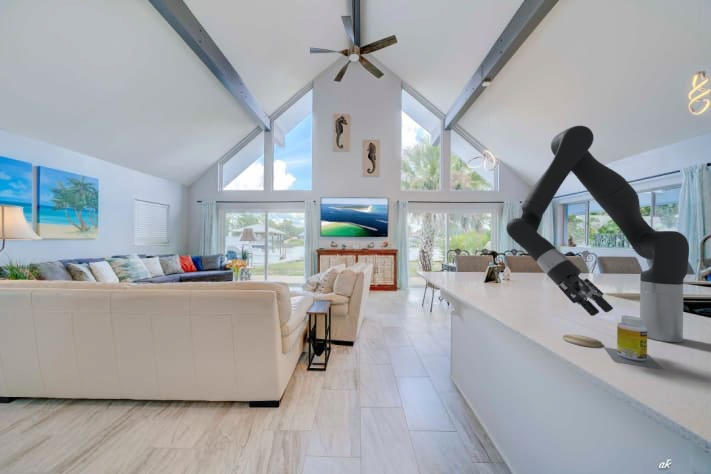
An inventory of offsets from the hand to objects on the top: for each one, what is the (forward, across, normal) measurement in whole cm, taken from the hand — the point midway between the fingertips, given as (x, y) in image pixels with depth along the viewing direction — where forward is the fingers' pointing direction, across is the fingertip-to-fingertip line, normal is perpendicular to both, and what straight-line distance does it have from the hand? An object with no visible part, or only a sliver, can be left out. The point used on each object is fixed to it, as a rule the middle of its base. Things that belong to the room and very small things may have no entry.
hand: (603, 312), depth 79 cm
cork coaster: (+3, +2, +11) cm, 12 cm away
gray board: (+12, 0, +3) cm, 12 cm away
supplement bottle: (+12, 0, +3) cm, 12 cm away
